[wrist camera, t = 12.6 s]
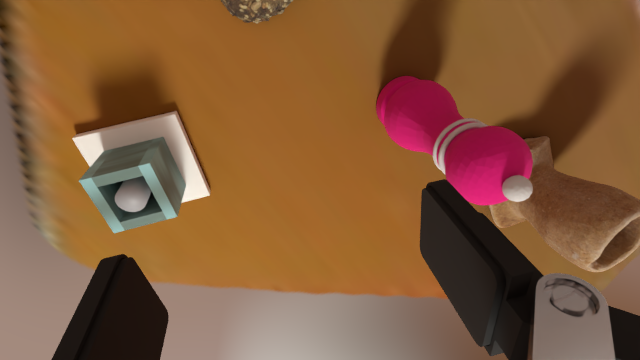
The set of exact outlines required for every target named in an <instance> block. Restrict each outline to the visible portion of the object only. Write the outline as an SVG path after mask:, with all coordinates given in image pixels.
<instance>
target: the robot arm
mask: <svg viewBox="0 0 640 360" xmlns="http://www.w3.org/2000/svg"><path fill="white" fill-rule="evenodd" d="M420 251H421V254H422V256H423V258H424V260H425V261H426V263H427V264H428V266H429V268H430V269H431V271H432V273H433V274H434V276H435V277H436V279H437V281H438V282H439V284H440V285H441V287H442V289H443V290H444V292H445V294H446V295H447V297H448V298H449V300H450V301H451V303H452V305H453V306H454V308H455V310H456V311H457V313H458V315H459V316H460V318H461V319H462V321H463V323H464V324H465V326H466V328H467V329H468V331H469V332H470V334H471V336H472V337H473V339H474V340H475V342H476V343H477V344H478V345H479V346H480V347H482V346H484V347H485V348H486V350H487V352H488V353H489V355H490V356H494V355H497V354H501V353H504V354H505V355H506V357H507V358H508V359H509V360H640V316H638V315H635V314H632V313H629V312H626V311H623V310H620V309H617V308H613V307H611V306H608V305H607V303H606V300H605V298H604V297H603V295H602V294H601V293H600V292H599V291H598V290H597V289H596V288H595V287H594V286H592V285H591V284H589V283H588V282H586V281H584V280H582V279H580V278H577V277H575V276H572V275H568V274H561V273H554V274H548V275H545V276H543V275H542V274H541V273H540V272H539V270H538V269H537V268H536V267H535V266H534V265H533V264H532V263H531V262H530V261H529V260H528V259H527V258H526V257H525V256H524V255H523V254H522V253H521V252H520V251H519V250H518V249H517V248H516V247H515V246H514V245H513V244H512V243H511V242H510V241H509V240H508V239H507V238H506V237H505V236H504V235H503V233H502V232H501V231H500V230H499V229H498V228H497V227H496V226H495V225H494V224H493V223H492V222H491V221H490V220H489V219H488V218H487V217H486V216H485V215H483V214H482V213H479V212H477V211H476V210H475V209H474V208H473V207H472V206H471V205H470V204H469V203H468V201H467V200H466V199H465V198H464V197H463V196H462V195H461V194H460V193H459V192H458V191H457V190H456V189H455V188H454V187H453V186H452V185H451V184H450V183H449V182H448V181H447V180H445V179H443V180H439V181H435V182H430V183H428V184H427V186H426V188H424V189H423V190H422V202H421V229H420ZM167 324H168V312H167V309H166V308H165V306H164V305H163V303H162V302H161V300H160V299H159V297H158V295H157V294H156V292H155V291H154V289H153V288H152V286H151V285H150V283H149V282H148V280H147V279H146V277H145V275H144V274H143V272H142V271H141V269H140V268H139V266H138V265H137V263H136V262H135V260H134V259H133V258H132V257H129V258H128V257H127V256H126V255H124V254H121V255H117V256H113V257H108V258H104V259H102V260H101V261H100V263H99V264H98V266H97V269H96V271H95V273H94V275H93V277H92V279H91V281H90V283H89V285H88V287H87V289H86V291H85V293H84V295H83V297H82V299H81V301H80V303H79V305H78V307H77V309H76V311H75V313H74V315H73V317H72V319H71V321H70V323H69V325H68V328H67V329H66V332H65V333H64V335H63V337H62V339H61V342H60V344H59V346H58V348H57V350H56V352H55V354H54V356H53V358H52V360H160V357H161V352H162V347H163V343H164V337H165V334H166V328H167Z"/></svg>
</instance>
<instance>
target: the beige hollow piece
mask: <svg viewBox="0 0 640 360" xmlns="http://www.w3.org/2000/svg"><path fill="white" fill-rule="evenodd" d="M524 141H525V142H526V143H527V145H528V147H529V149H530V151H531V153H532V159H533V166H532V172H531V175H530V178H529V181H530V182H531V184H532V186H533V191H532V194H531V195H530V197H529V198H528V199H526V200H524V201H520V202H515V201H511V200H507V201H504V202H502V203H498V204H494V205H489V208H490V211H491V214H492V217H493V220H494V222H495V223H496V225H497V226H498V227H500V228H506V227H509V226H512V225H515V224H518V223H520V222H523V221H525V220H528V221H529V222H530V223H531V224H532V226H533V227H534V228H535V229H536V230H537V231H538V233H539V234H540V236H541V237H542V238H543V239H544V241H545V242H546V243H547V244H548V245H549V246H550V247H552V248H553V249H554V250H555V251H557V252H558V253H559V254H560V255H561V256H563V257H564V258H566V259H567V260H569V261H570V262H572V263H574V264H575V265H577V266H578V267H581V268H583V269H585V270H587V271H591V272H602V271H605V270H608V269H610V268H612V267H613V266H614V265H616V264H618V263H619V262H621V261H622V260H624V259H625V258H627V257H628V256H629V255H630V254H631V253H632V252H633V251H634V250H636V248H637V247H638V246H639V245H640V200H638V199H637V198H635V197H633V196H631V195H629V194H627V193H626V192H624V191H622V190H620V189H617V188H615V187H612V186H608V185H604V184H599V183H595V182H590V181H587V180H583V179H579V178H576V177H572V176H568V175H566V174H563V173H560V172H558V171H556V170H555V169H554V165H553V158H552V154H551V147H550V139H549V138H548V137H546V136H541V137H538V138H526V139H524Z"/></svg>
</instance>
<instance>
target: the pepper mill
mask: <svg viewBox="0 0 640 360" xmlns="http://www.w3.org/2000/svg"><path fill="white" fill-rule="evenodd" d="M376 111H377V115H378V118H379V120H380V121H381V122H382V123H383V124H384V125H385V128H386V131H387V133H388V135H389V136H390V138H391V139H392V140H393V141H394V142H396V143H397V144H398V145H400V146H401V147H403V148H406V149H408V150H412V151H420V152H426V153H429V154H431V155H432V156H433V159H434V162H435V164H436V166H437V167H438V168H439V169H440V170H441V171H442V172H443V173H444V174H445V175H446V179H447V181H448V182H449V183H450V184H451V185H452V186H453V187H454V188H455V189H456V190H457V191H458V192H459V193H460V194H461V195H462V196H463V197H464V198H465V199H466V200H467V201H468V202H471V203H474V204H477V205H494V204H498V203H502V202H504V201H507V200H511V201H515V202H520V201H524V200H526V199H528V198H529V197H530V195H531V194H532V191H533V186H532V184H531V182H530V181H529V178H530V175H531V172H532V166H533V159H532V153H531V151H530V149H529V147H528V145H527V143H526V142H525V141H524V140H523V139H522V138H521V137H520V136H519V135H517V134H516V133H515V132H513V131H511V130H509V129H506V128H504V127H499V126H488V125H486V124H484V123H482V122H481V121H479V120H477V119H471V118H467V119H464V118H463V117H462V116H461V115H460V114H459V113H458V110H457V107H456V103H455V101H454V99H453V97H452V96H451V94H450V93H449V92H448V91H447V90H446V89H445V88H444V87H442V86H441V85H439V84H438V83H436V82H433V81H430V80H419V79H417V78H415V77H412V76H402V77H398V78H396V79H393V80H392V81H390V82H389V83H388V84H387V85H386V86H385V87H384V88H383V89H382V91H381V93H380V95H379V97H378V99H377V105H376Z"/></svg>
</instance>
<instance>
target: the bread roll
mask: <svg viewBox="0 0 640 360" xmlns="http://www.w3.org/2000/svg"><path fill="white" fill-rule="evenodd" d="M291 1H293V0H221V2H222V3H223V4H224V5H225V6H226V8H227V9H228V11H229V12H230V13H231V14H232V15H233V16H234V15H235V16H237V17H238V18H239V19H241V20H243V21H244V22H247V23H249V22H254V23H259V22H261V21H268V20H269V18H270V17H272V16H273V15H277V14H281V13H283V12H284V9H285V7H287V6H288V5H289V4H290V3H291Z"/></svg>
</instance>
